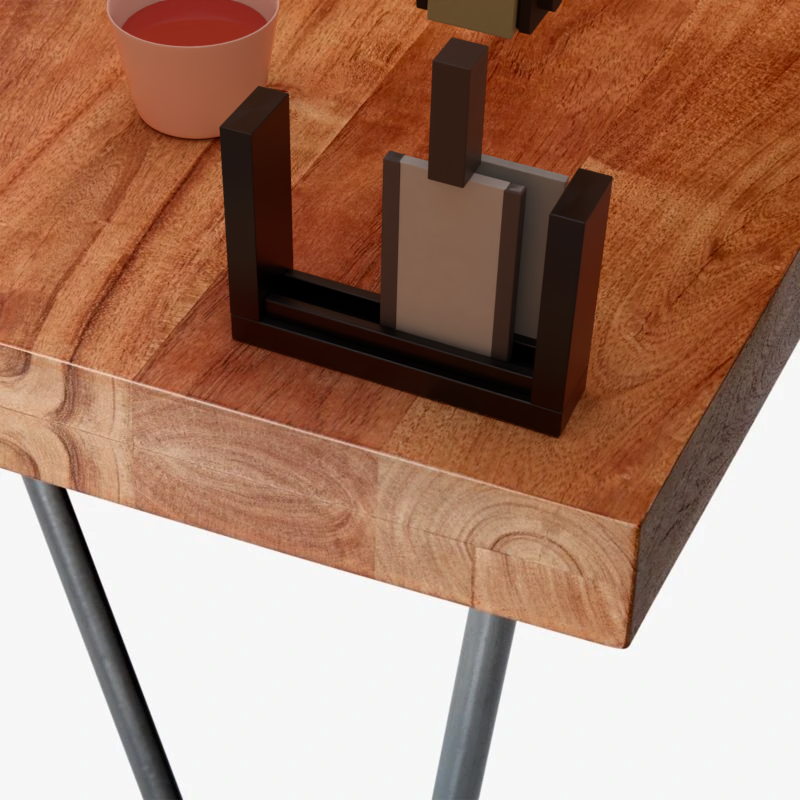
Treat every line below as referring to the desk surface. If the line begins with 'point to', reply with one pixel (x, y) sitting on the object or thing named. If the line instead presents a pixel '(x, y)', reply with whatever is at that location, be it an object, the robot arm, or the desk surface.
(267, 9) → the candle
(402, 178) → the sash
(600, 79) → the desk surface
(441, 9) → the block
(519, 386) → the window frame
